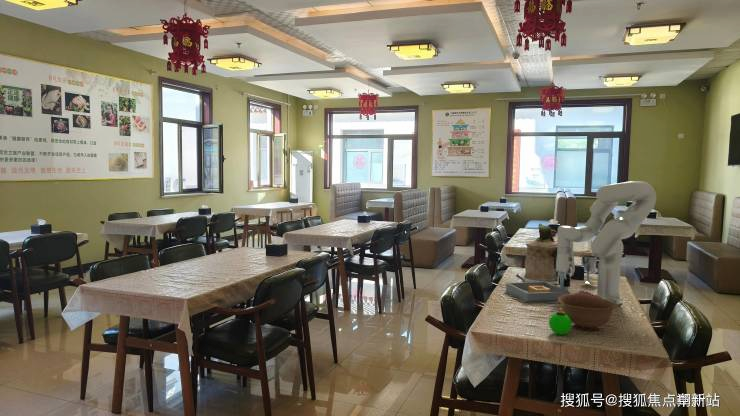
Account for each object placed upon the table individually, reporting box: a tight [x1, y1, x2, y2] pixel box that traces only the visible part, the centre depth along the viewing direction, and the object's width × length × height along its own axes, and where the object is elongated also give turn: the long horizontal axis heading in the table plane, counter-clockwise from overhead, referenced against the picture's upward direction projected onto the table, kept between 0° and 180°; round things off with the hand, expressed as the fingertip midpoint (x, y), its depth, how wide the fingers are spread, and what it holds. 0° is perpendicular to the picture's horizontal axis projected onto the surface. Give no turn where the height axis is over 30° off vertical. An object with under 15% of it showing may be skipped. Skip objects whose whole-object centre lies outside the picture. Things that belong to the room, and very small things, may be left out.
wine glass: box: [580, 254, 598, 285], centre depth 278 cm, size 8×8×15 cm
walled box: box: [505, 281, 571, 304], centre depth 246 cm, size 22×22×4 cm
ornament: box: [548, 307, 573, 336], centre depth 188 cm, size 8×8×10 cm
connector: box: [559, 272, 569, 291], centre depth 255 cm, size 4×4×10 cm
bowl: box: [558, 293, 619, 332], centre depth 197 cm, size 22×22×11 cm
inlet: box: [528, 286, 550, 293], centre depth 249 cm, size 8×8×2 cm
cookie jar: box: [515, 223, 559, 285], centre depth 284 cm, size 25×25×32 cm
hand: (564, 285), depth 255 cm, fingers closed on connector, 4 cm apart
